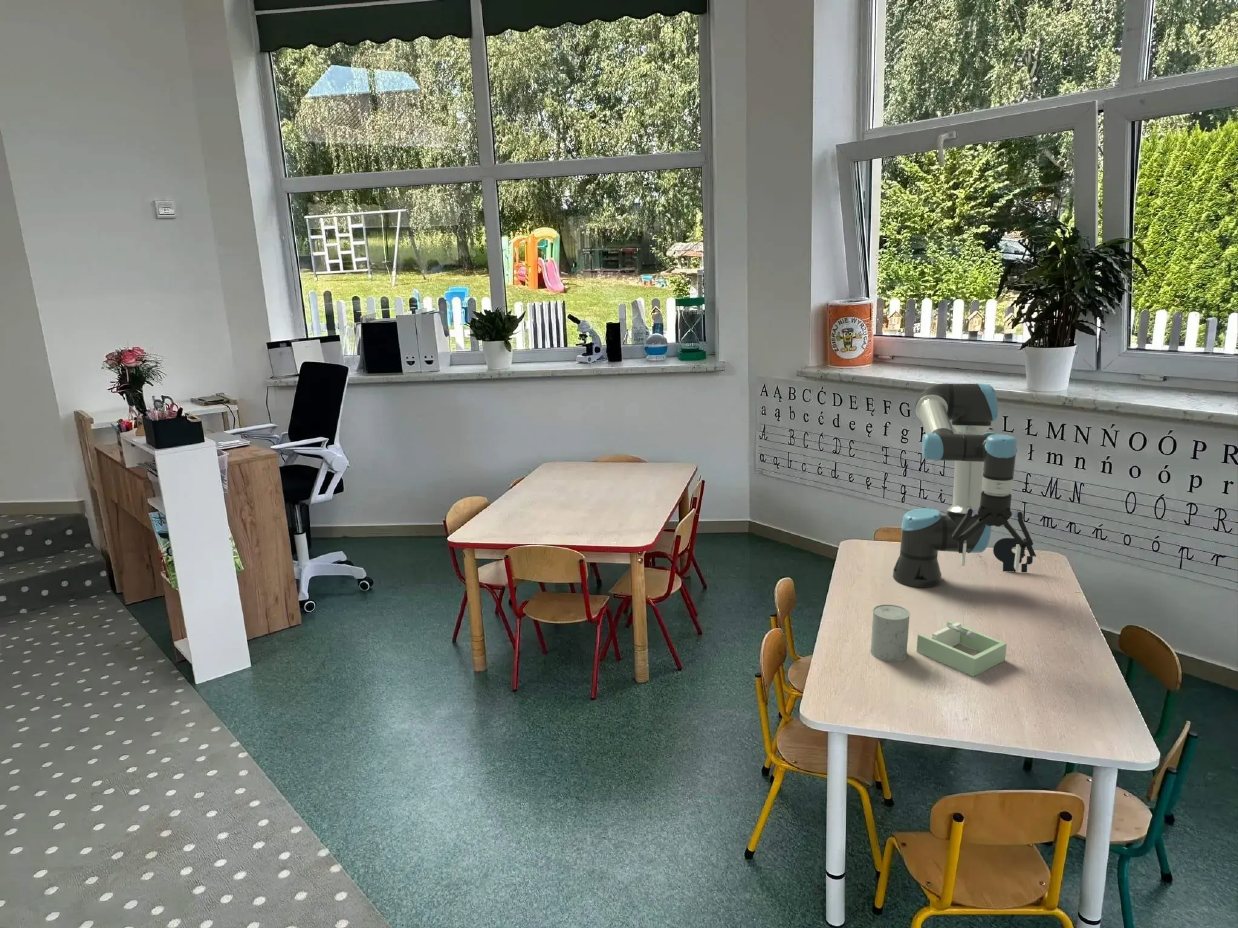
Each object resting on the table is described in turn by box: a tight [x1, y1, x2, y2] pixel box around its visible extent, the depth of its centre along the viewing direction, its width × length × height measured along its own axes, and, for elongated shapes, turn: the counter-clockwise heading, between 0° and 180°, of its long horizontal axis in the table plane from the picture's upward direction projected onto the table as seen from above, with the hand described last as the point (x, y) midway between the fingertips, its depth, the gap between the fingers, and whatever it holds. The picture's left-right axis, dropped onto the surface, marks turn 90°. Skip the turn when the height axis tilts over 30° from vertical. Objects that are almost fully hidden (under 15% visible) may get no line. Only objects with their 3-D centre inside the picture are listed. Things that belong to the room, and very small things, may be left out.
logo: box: [975, 537, 1037, 573], centre depth 286 cm, size 17×18×11 cm
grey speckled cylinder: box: [870, 604, 911, 663], centre depth 229 cm, size 10×10×12 cm
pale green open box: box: [916, 620, 1008, 677], centre depth 228 cm, size 17×14×5 cm
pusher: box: [931, 621, 975, 648], centre depth 228 cm, size 9×11×8 cm
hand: (989, 566), depth 232 cm, fingers open, 13 cm apart
